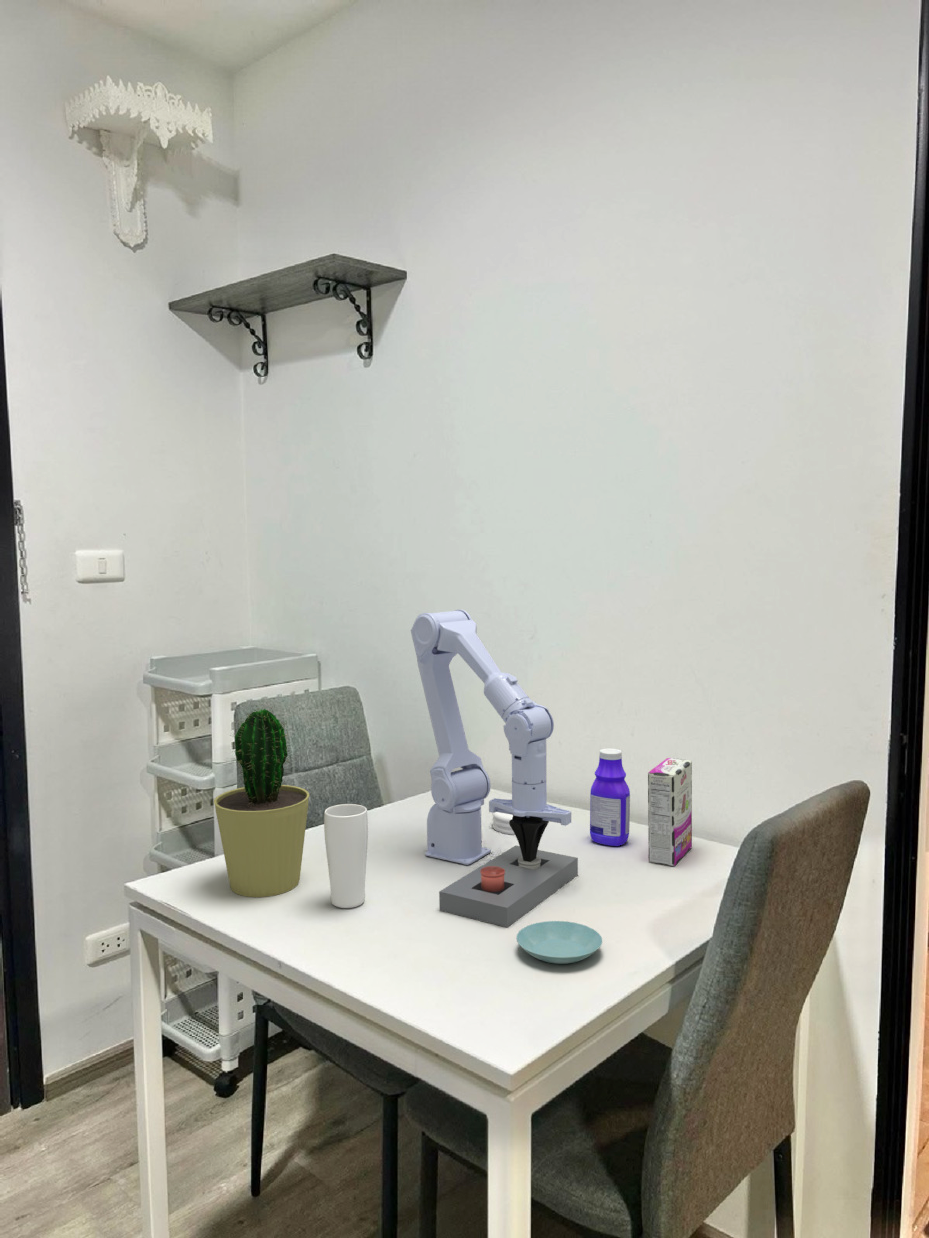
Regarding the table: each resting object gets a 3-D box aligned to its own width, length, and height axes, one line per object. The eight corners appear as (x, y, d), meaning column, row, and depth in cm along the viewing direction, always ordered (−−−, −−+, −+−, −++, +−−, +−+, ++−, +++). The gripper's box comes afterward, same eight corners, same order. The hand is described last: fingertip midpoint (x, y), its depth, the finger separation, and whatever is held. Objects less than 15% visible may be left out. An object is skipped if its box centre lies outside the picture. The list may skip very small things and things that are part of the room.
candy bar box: (665, 843, 170) (666, 756, 169) (692, 847, 168) (693, 759, 166) (646, 862, 161) (646, 770, 159) (674, 867, 158) (675, 774, 157)
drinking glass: (376, 897, 147) (374, 805, 146) (358, 913, 141) (356, 818, 139) (338, 892, 149) (336, 801, 148) (318, 908, 143) (316, 814, 141)
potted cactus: (261, 861, 164) (256, 694, 161) (330, 876, 156) (325, 702, 153) (196, 890, 150) (189, 710, 147) (268, 909, 143) (262, 719, 140)
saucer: (515, 934, 133) (515, 919, 133) (597, 934, 133) (597, 919, 133) (517, 973, 122) (517, 957, 122) (607, 973, 121) (607, 957, 121)
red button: (475, 888, 143) (475, 872, 142) (488, 880, 146) (488, 864, 146) (497, 893, 141) (496, 876, 140) (509, 885, 144) (509, 868, 144)
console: (507, 927, 135) (507, 907, 135) (439, 910, 142) (439, 891, 141) (577, 874, 155) (577, 857, 155) (515, 861, 162) (515, 845, 162)
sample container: (514, 876, 153) (513, 860, 153) (524, 869, 156) (524, 853, 156) (534, 880, 151) (534, 864, 151) (544, 873, 154) (544, 857, 154)
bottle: (633, 840, 172) (634, 749, 170) (622, 849, 167) (622, 756, 166) (598, 834, 176) (598, 744, 174) (585, 842, 171) (585, 751, 169)
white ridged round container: (517, 816, 188) (517, 799, 188) (553, 827, 181) (553, 810, 180) (482, 827, 181) (481, 810, 181) (518, 839, 174) (518, 821, 174)
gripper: (479, 779, 152) (479, 859, 154) (557, 792, 145) (557, 875, 146) (500, 770, 158) (501, 846, 160) (577, 781, 151) (577, 861, 152)
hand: (529, 859), depth 153 cm, fingers closed, pressing on sample container
